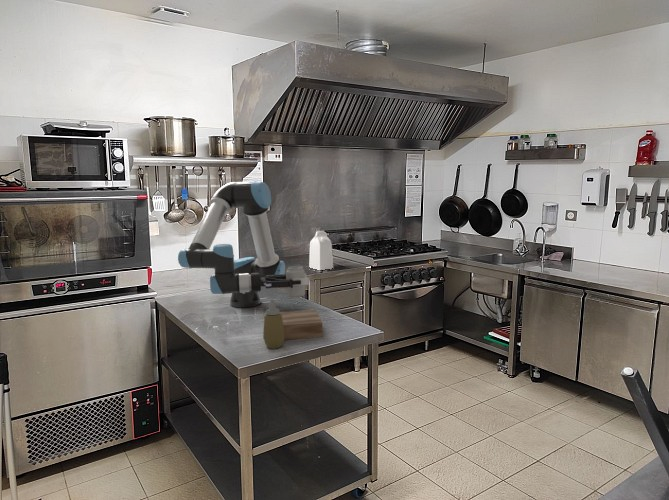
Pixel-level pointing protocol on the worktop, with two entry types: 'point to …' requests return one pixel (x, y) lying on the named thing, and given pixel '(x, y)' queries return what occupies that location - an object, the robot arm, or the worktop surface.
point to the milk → (320, 252)
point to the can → (295, 273)
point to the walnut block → (301, 324)
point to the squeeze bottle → (273, 327)
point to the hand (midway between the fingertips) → (307, 279)
